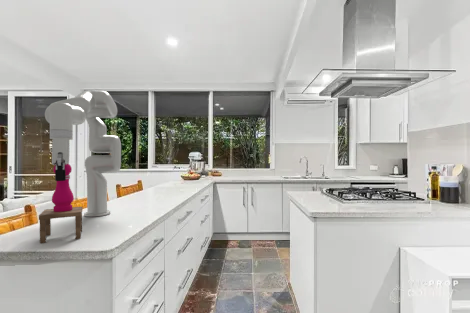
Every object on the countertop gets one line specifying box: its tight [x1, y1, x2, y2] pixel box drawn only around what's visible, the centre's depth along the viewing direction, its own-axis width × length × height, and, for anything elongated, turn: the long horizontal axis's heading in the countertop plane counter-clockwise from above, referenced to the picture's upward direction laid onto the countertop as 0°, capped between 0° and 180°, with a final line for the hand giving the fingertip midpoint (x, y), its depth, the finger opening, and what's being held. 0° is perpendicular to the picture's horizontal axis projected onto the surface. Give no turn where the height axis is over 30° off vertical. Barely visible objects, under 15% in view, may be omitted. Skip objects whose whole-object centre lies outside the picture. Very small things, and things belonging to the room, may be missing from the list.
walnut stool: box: [38, 206, 83, 244], centre depth 108 cm, size 13×13×10 cm
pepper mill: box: [51, 164, 75, 212], centre depth 108 cm, size 7×7×20 cm
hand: (62, 179), depth 108 cm, fingers open, 9 cm apart
